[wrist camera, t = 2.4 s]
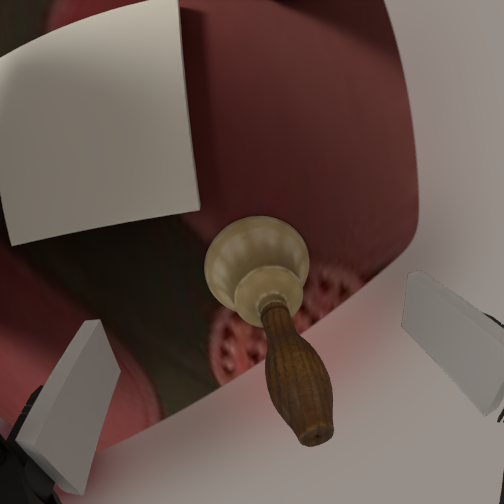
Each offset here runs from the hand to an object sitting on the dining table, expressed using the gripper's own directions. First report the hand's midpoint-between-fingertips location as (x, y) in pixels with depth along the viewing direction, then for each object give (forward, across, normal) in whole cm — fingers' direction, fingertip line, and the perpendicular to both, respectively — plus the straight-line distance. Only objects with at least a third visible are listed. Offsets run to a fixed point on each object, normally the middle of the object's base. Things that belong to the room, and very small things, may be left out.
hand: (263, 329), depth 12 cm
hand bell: (+12, +1, -2) cm, 12 cm away
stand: (+12, -10, +11) cm, 19 cm away
